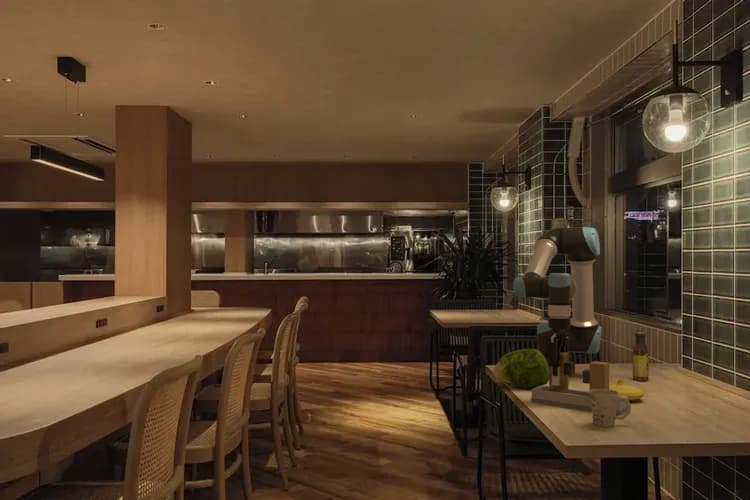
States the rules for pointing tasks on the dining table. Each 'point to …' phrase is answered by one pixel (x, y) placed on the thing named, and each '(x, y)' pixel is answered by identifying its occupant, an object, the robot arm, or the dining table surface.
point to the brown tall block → (562, 373)
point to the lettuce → (522, 369)
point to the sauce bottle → (640, 358)
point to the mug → (606, 406)
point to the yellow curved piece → (626, 390)
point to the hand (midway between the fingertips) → (558, 383)
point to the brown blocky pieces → (579, 391)
